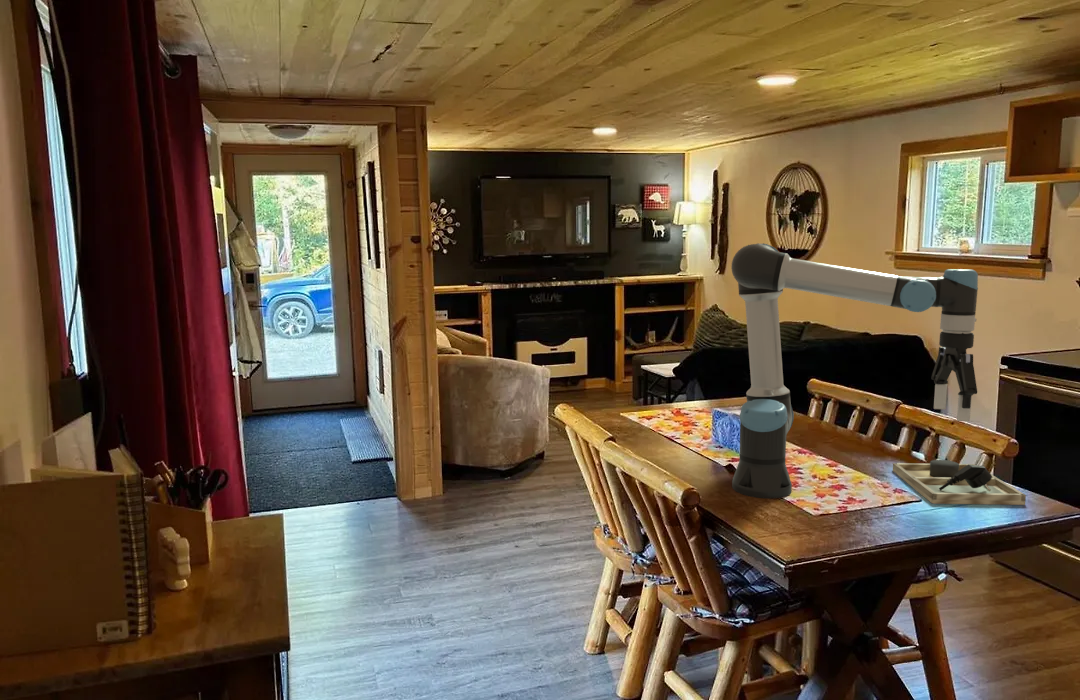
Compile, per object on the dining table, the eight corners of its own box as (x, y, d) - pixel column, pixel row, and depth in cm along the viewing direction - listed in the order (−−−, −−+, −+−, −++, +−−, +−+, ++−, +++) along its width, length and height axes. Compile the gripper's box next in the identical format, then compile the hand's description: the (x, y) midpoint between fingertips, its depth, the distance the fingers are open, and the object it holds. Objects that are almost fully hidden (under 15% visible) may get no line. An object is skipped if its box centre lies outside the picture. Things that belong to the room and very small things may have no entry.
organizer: (932, 503, 192) (932, 493, 192) (892, 471, 219) (893, 463, 219) (1025, 504, 191) (1025, 495, 190) (973, 472, 217) (974, 464, 217)
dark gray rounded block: (937, 479, 208) (937, 467, 207) (924, 472, 215) (925, 460, 214) (963, 479, 208) (964, 466, 207) (950, 471, 214) (950, 459, 214)
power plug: (934, 483, 202) (974, 457, 199) (952, 506, 202) (993, 480, 199) (941, 490, 196) (983, 462, 194) (960, 513, 196) (1002, 486, 194)
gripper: (997, 337, 180) (990, 426, 183) (950, 326, 205) (945, 404, 208) (964, 337, 181) (957, 426, 184) (921, 325, 206) (916, 404, 209)
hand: (951, 414), depth 196 cm, fingers open, 13 cm apart
